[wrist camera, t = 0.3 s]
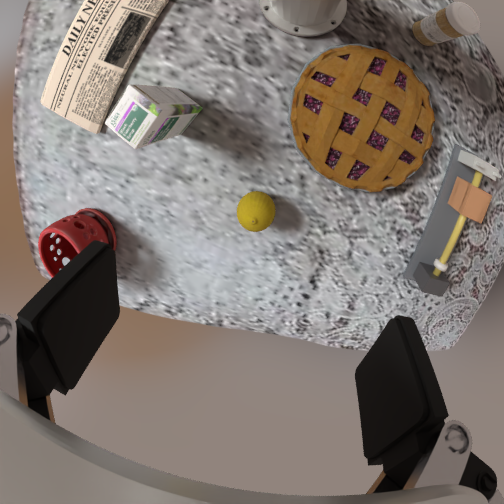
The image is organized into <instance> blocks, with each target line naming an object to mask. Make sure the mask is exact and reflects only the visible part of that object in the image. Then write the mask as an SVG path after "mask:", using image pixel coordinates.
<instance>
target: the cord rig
mask: <svg viewBox="0 0 504 504" xmlns="http://www.w3.org/2000/svg"><path fill="white" fill-rule="evenodd" d="M498 172H499V170H498V169H497V168H495V167H493V166H492V165H490V164H489V163H488V162H486V161H485V160H483V159H482V158H480V157H478V156H477V155H475V154H473V153H471V152H470V151H468V150H466V149H464V148H463V147H461V146H459V145H457V144H455V145H454V149H453V152H452V155H451V159H450V162H449V165H448V168H447V171H446V174H445V177H444V180H443V183H442V186H441V189H440V192H439V194H438V197H437V200H436V202H435V205H434V207H433V210H432V212H431V215H430V217H429V220H428V222H427V225H426V227H425V229H424V232H423V234H422V236H421V239H420V241H419V243H418V245H417V247H416V250H415V252H414V254H413V256H412V258H411V260H410V262H409V264H408V266H407V268H406V270H405V272H404V274H403V277H404V278H406V279H410V280H414V281H416V282H417V284H418V285H419V287H420V289H421V291H422V292H425V293H429V294H433V295H438V296H443V294H444V293H445V291H446V289H447V287H448V286H449V284H450V282H449V281H448V279H447V278H446V276H445V275H444V274H443V271H444V272H445V271H446V270H447V268H448V266H449V265H448V264H447V263H448V261H449V259H450V257H451V255H452V253H453V251H454V249H455V247H456V245H457V242H458V240H459V238H460V236H461V234H462V231H463V229H464V227H465V225H466V222H467V220H468V217H466V216H463V215H461V214H460V213H459V212H458V211H456V210H455V209H454V208H453V207H452V206H450V205H449V204H448V201H449V198H450V195H451V193H452V190H453V187H454V184H455V181H456V178H457V176H458V177H460V178H462V179H464V180H466V181H468V182H469V183H471V184H472V185H474V186H476V187H477V188H478V187H479V188H480V186H481V183H482V180H483V177H484V175H485V176H487V177H489V178H491V179H492V180H494V181H496V178H497V177H498V178H500V179H501V175H499V174H498Z"/></svg>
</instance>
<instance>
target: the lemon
mask: <svg viewBox="0 0 504 504" xmlns="http://www.w3.org/2000/svg"><path fill="white" fill-rule="evenodd" d="M275 210H276V209H275V204H274V202H273V200H272V199H271V198H270V196H269V195H267V194H266V193H263V192H259V191H254V192H250V193H248V194H246V195H245V196H243V198H242V199H241V200H240V202H239V204H238V207H237V217H238V220H239V222H240V224H241V225H242V226H243V227H244V228H245V229H247V230H249V231H252V232H258V231H262V230H264V229H266V228H267V227H268V226H270V224H271V223H272V221H273V220H274V217H275Z"/></svg>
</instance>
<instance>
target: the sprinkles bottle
mask: <svg viewBox="0 0 504 504" xmlns="http://www.w3.org/2000/svg"><path fill="white" fill-rule="evenodd" d="M479 30H480V20H479V18H478V16H477V14H476V13H475V11H474V10H473V9H472V8H471V7H470V6H469V5H467V4H466V3H463V2H460V1H456V2H453V3H451V4H449V5H448V6H447V7H446V8H444V9H442V10H439V11H437V12H435V13H433V14H431V15H429V16H427V17H425V18H424V19H422V20H421V21H418V22H415V23H414V25H413V27H412V31H413V34H414V36H415V38H416V39H417V40H418V41H419V42H420V43H421V44H423V45H426V46H433V45H434V44H436V43H441V42H445V41H448V40H452V39H455V38H457V37H460V36H463V35H467V36H469V35H473V34H476V33H478V32H479Z"/></svg>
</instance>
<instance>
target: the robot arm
mask: <svg viewBox="0 0 504 504" xmlns="http://www.w3.org/2000/svg"><path fill="white" fill-rule="evenodd" d="M259 5H260V8H261V11H262V13H263V15H264V16H265V18H266V19H267V20H268V21H269V22H270V23H271V24H272V25H273V26H275V27H276V28H278V29H280V30H281V31H283V32H286V33H288V34H292V35H296V36H303V37H314V36H319V35H323V34H326V33H328V32H330V31H332V30H334V29H335V28H336V27H337V26H338V25H340V23H341V22H342V21H343V19H344V17H345V15H346V11H347V0H259ZM265 9H269V10H268V11H266V10H265ZM331 23H334V25H332V24H331ZM295 30H298V32H295ZM119 313H120V306H119V297H118V286H117V273H116V257H115V251H114V250H113V249H112V247H111V245H110V244H108V243H104V242H101V241H98V240H94V241H92V242H91V243H90V244H89V245H88V246H86V247H85V248H84V249H83V250H82V251H81V252H80V253H79V254H77V255H76V256H75V257H74V258H73V259H72V260H71V261H70V262H69V263H68V264H67V265H65V266H64V267H63V268H62V269H61V270H60V271H59V272H58V273H57V274H56V275H55V276H54V277H53V278H52V279H51V280H50V281H49V282H48V283H47V284H46V285H45V286H44V287H43V288H42V289H41V290H40V291H39V292H38V293H37V294H36V295H35V296H34V297H33V298H32V299H31V300H30V301H29V302H28V303H27V304H26V305H25V306H24V307H23V309H22V310H21V311H20V312H19V313H18V314H17V316H18V319H17V320H16V321H14V319H13V318H12V317H11V316H9V315H6V314H0V504H504V498H503V497H502V495H501V493H500V492H499V490H496V487H497V477H496V474H495V473H494V471H493V470H492V469H491V468H490V467H489V466H488V465H486V464H485V463H484V462H483V461H482V460H480V459H479V458H478V457H477V456H476V455H474V454H473V453H472V452H471V447H472V437H471V434H470V432H469V430H468V428H467V427H466V426H465V425H464V424H463V423H461V422H459V421H456V420H452V421H449V422H447V423H446V424H445V422H444V419H446V417H448V412H447V409H446V405H445V402H444V399H443V396H442V393H441V390H440V387H439V384H438V381H437V378H436V375H435V372H434V369H433V367H432V364H431V362H430V359H429V356H428V354H427V351H426V348H425V346H424V343H423V341H422V338H421V336H420V334H419V331H418V329H417V326H416V324H415V322H414V320H413V319H412V318H410V317H405V316H400V315H398V316H396V317H395V318H394V319H390V321H389V322H388V323H387V325H386V326H385V328H384V330H383V331H382V333H381V334H380V336H379V337H378V339H377V340H376V342H375V343H374V345H373V346H372V347H371V349H370V350H369V352H368V353H367V355H366V356H365V357H364V359H363V360H362V361H361V363H360V364H359V366H358V367H357V369H356V373H355V380H356V387H357V395H358V402H359V410H360V419H361V428H362V438H363V449H364V456H365V457H366V458H368V465H381V464H383V471H382V472H381V474H380V475H379V477H378V478H377V480H376V481H375V482H374V484H373V485H372V486H371V488H370V489H369V490H368V492H367V493H366V494H362V495H347V496H299V495H298V496H297V495H282V494H271V493H261V492H254V491H247V490H240V489H234V488H228V487H223V486H218V485H213V484H208V483H204V482H200V481H196V480H191V479H188V478H184V477H180V476H177V475H173V474H170V473H167V472H164V471H160V470H157V469H154V468H151V467H148V466H145V465H143V464H140V463H137V462H134V461H132V460H129V459H126V458H124V457H122V456H119V455H117V454H115V453H112V452H110V451H108V450H105V449H103V448H101V447H99V446H97V445H95V444H93V443H91V442H88V441H86V440H84V439H82V438H81V437H79V436H77V435H75V434H73V433H71V432H69V431H67V430H65V429H64V428H62V427H60V426H58V425H56V423H55V418H54V414H53V409H52V404H51V398H50V393H51V392H52V390H53V389H55V390H57V391H59V392H60V393H62V394H64V395H66V394H67V392H68V390H69V389H73V388H74V387H75V386H76V384H77V383H78V381H79V379H80V378H81V376H82V374H83V373H84V371H85V369H86V367H87V366H88V364H89V363H90V361H91V360H92V358H93V356H94V355H95V353H96V351H97V350H98V348H99V347H100V345H101V344H102V342H103V341H104V339H105V337H106V336H107V334H108V333H109V331H110V330H111V328H112V327H113V325H114V324H115V322H116V321H117V319H118V317H119Z"/></svg>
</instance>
